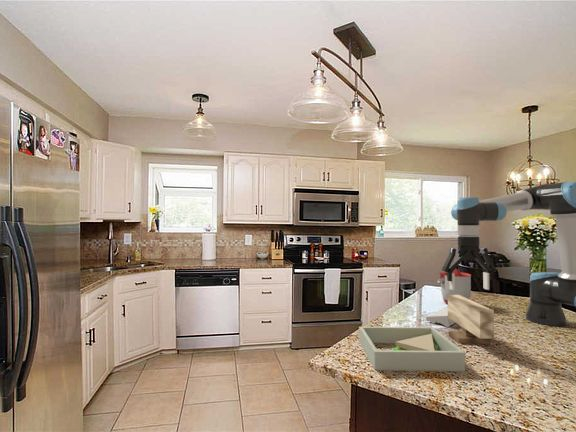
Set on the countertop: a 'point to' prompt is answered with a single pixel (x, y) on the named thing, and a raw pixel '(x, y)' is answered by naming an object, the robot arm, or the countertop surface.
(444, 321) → the decorative molding
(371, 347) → the sandwich crate
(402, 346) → the sandwich
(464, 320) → the beam
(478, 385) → the countertop surface
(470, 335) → the fulcrum
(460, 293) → the citrus juicer
